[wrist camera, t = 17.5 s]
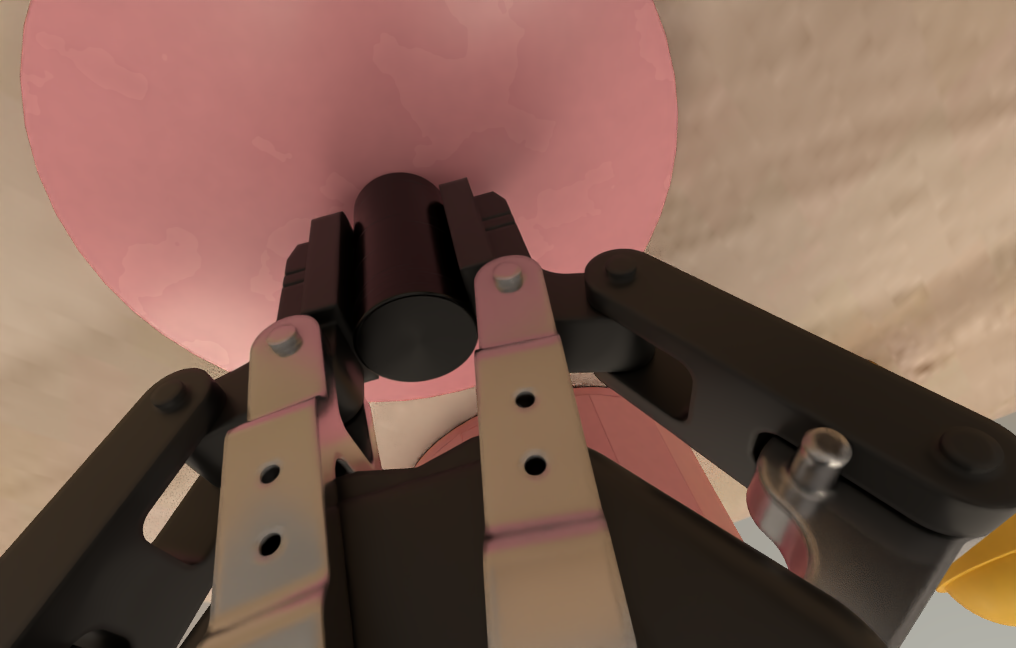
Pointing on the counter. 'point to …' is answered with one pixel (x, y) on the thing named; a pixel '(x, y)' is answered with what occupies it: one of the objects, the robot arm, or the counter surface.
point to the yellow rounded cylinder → (987, 576)
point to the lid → (342, 153)
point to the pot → (629, 450)
